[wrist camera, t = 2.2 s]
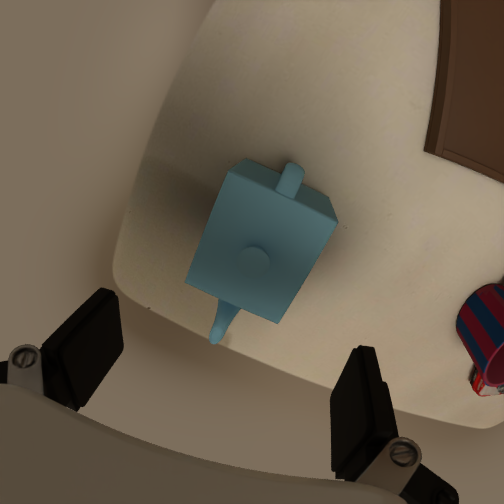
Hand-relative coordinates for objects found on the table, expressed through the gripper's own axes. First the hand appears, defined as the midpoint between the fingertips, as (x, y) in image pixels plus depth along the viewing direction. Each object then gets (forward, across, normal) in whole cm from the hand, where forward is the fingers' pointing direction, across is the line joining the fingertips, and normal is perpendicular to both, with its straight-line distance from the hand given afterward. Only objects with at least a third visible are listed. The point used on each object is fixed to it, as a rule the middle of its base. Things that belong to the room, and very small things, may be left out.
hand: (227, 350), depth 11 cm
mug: (+13, -23, +2) cm, 26 cm away
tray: (+13, -19, -19) cm, 30 cm away
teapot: (+13, 0, 0) cm, 13 cm away
